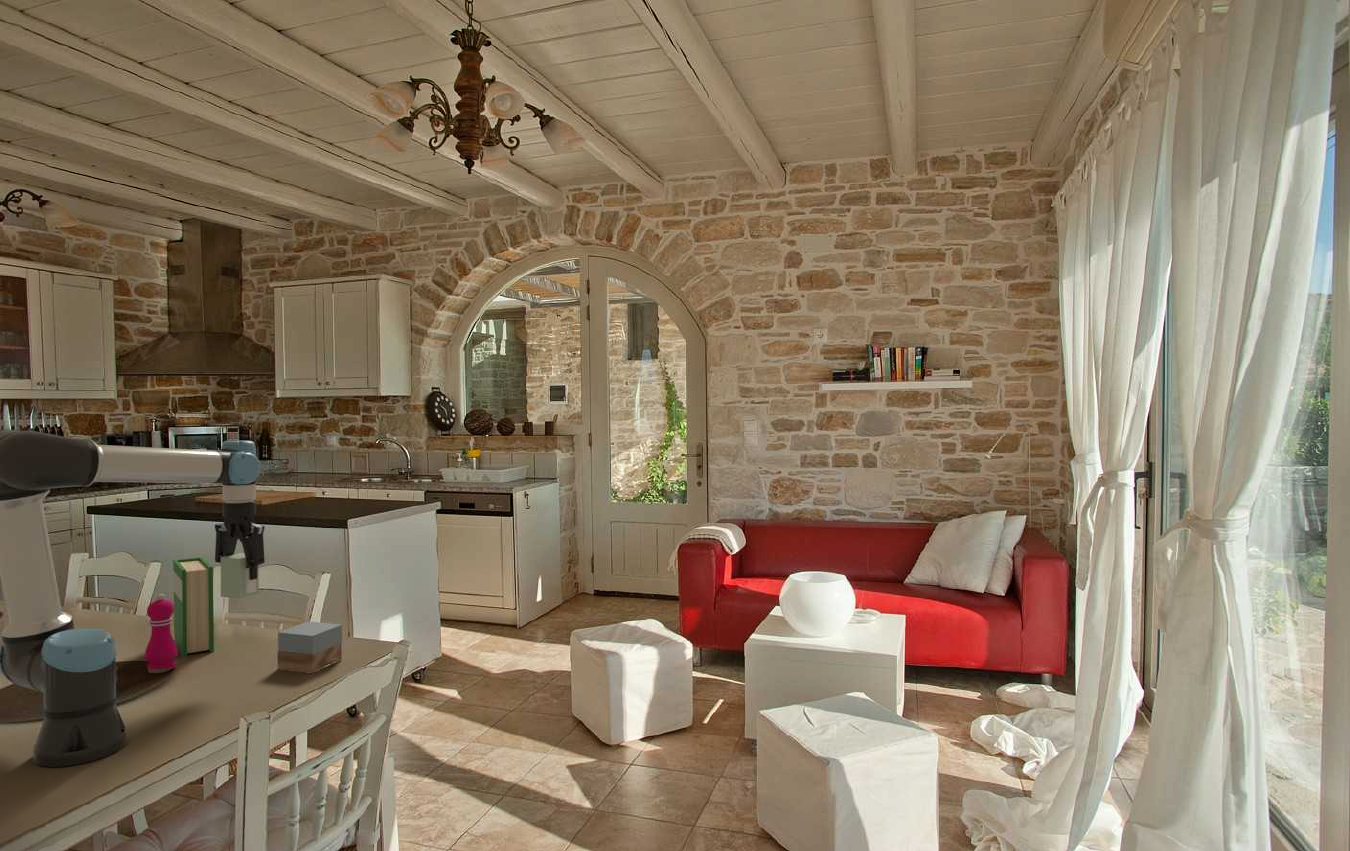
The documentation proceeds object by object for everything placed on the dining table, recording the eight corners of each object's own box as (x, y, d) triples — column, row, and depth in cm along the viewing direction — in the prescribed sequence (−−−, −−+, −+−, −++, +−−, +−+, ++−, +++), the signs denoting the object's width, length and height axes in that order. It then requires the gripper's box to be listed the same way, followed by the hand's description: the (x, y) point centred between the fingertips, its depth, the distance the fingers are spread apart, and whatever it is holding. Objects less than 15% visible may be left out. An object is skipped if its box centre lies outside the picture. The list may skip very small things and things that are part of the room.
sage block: (239, 598, 200) (239, 558, 200) (220, 596, 202) (220, 557, 202) (258, 593, 206) (258, 554, 206) (239, 591, 208) (239, 553, 208)
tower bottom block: (312, 674, 206) (312, 655, 206) (277, 670, 209) (277, 651, 209) (341, 661, 217) (341, 643, 216) (308, 657, 220) (307, 639, 220)
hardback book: (213, 651, 224) (212, 566, 223) (183, 657, 219) (181, 570, 218) (203, 637, 237) (202, 557, 237) (174, 641, 233) (173, 560, 232)
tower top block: (312, 655, 206) (312, 636, 206) (278, 651, 209) (278, 632, 209) (342, 643, 217) (341, 624, 217) (308, 639, 220) (308, 621, 220)
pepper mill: (161, 675, 204) (160, 598, 204) (137, 673, 206) (136, 596, 205) (184, 666, 211) (183, 591, 211) (161, 664, 213) (160, 590, 212)
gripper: (281, 500, 204) (281, 590, 205) (221, 498, 210) (222, 585, 210) (258, 504, 197) (258, 597, 198) (197, 501, 203) (197, 591, 203)
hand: (239, 591), depth 204 cm, fingers closed on sage block, 6 cm apart
